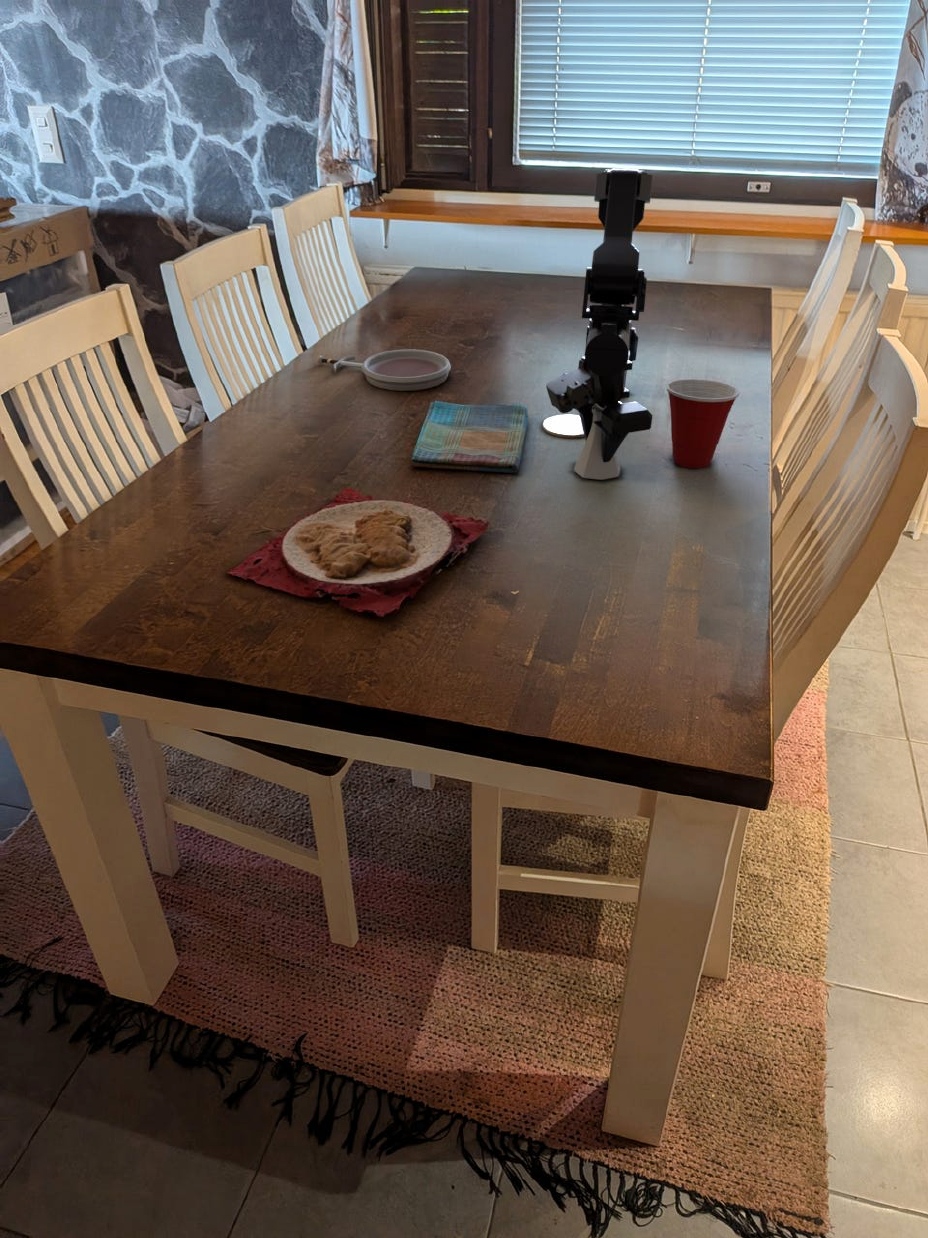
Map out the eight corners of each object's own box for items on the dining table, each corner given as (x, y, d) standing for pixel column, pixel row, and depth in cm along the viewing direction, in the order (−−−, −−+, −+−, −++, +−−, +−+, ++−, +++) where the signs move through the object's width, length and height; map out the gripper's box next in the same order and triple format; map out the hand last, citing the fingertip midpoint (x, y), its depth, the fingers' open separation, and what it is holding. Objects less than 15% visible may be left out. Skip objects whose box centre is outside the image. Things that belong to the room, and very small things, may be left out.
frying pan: (336, 339, 185) (464, 352, 176) (337, 353, 186) (464, 367, 178) (293, 365, 172) (429, 381, 163) (295, 380, 173) (430, 397, 165)
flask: (569, 461, 142) (573, 400, 136) (615, 460, 142) (621, 398, 136) (578, 482, 136) (583, 418, 130) (625, 480, 136) (632, 417, 130)
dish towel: (529, 416, 157) (529, 402, 155) (520, 475, 138) (520, 459, 136) (430, 412, 159) (430, 398, 157) (408, 469, 139) (407, 454, 138)
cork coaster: (581, 414, 158) (582, 411, 157) (605, 433, 151) (606, 430, 150) (534, 421, 155) (534, 418, 155) (556, 441, 148) (556, 438, 148)
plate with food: (490, 534, 123) (491, 511, 121) (385, 624, 104) (383, 599, 102) (347, 497, 133) (345, 475, 131) (226, 573, 114) (222, 549, 112)
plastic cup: (730, 451, 145) (743, 378, 138) (723, 479, 136) (737, 402, 130) (662, 442, 148) (671, 370, 141) (651, 469, 139) (660, 393, 132)
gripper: (528, 339, 134) (524, 439, 142) (585, 380, 119) (577, 489, 128) (596, 331, 137) (588, 429, 145) (660, 371, 122) (647, 477, 131)
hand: (598, 455), depth 137 cm, fingers closed on flask, 5 cm apart
